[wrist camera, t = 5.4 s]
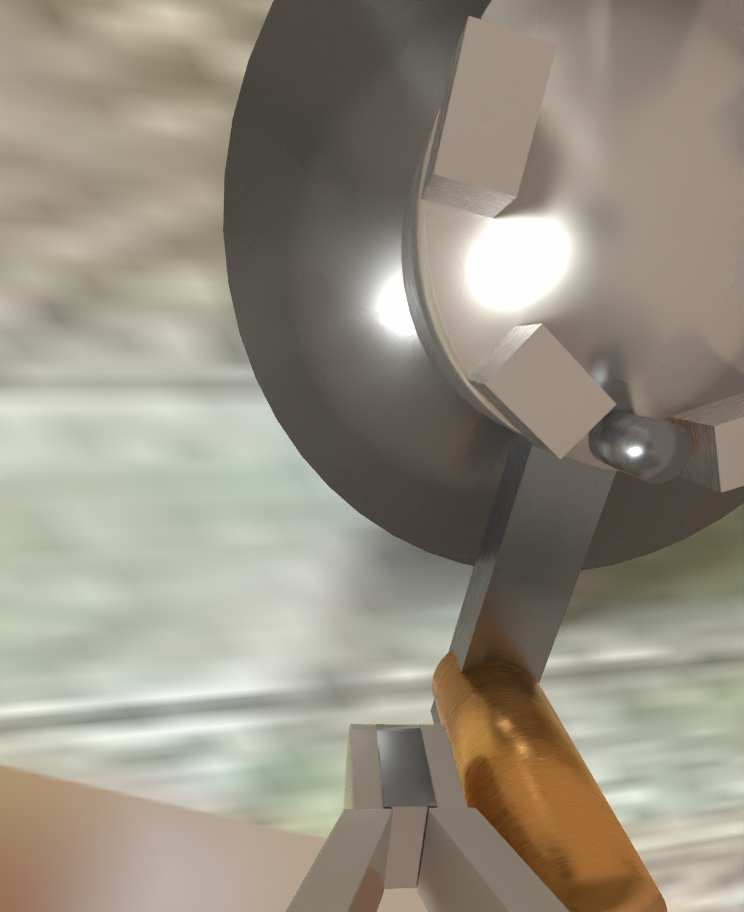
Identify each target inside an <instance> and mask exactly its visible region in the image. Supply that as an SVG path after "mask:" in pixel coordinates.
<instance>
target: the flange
mask: <svg viewBox="0 0 744 912" xmlns="http://www.w3.org/2000/svg"><path fill="white" fill-rule="evenodd" d="M491 1H492V0H274V2H273V3H272V5H271V8H270V10H269V13H268V15H267V17H266V20H265V22H264V25H263V27H262V30H261V32H260V34H259V37H258V39H257V42H256V44H255V47H254V49H253V51H252V54H251V56H250V59H249V61H248V65H247V69H246V72H245V76H244V80H243V83H242V87H241V91H240V94H239V98H238V102H237V105H236V109H235V112H234V116H233V121H232V128H231V135H230V142H229V149H228V156H227V163H226V169H225V181H224V226H223V232H224V242H225V252H226V262H227V272H228V282H229V288H230V292H231V296H232V301H233V305H234V310H235V314H236V319H237V323H238V328H239V332H240V335H241V338H242V341H243V343H244V346H245V349H246V352H247V355H248V357H249V360H250V363H251V366H252V369H253V371H254V374H255V377H256V379H257V381H258V383H259V385H260V387H261V389H262V391H263V393H264V395H265V397H266V399H267V401H268V403H269V405H270V407H271V409H272V411H273V413H274V415H275V417H276V419H277V420H278V422H279V423H280V425H281V426H282V428H283V429H284V431H285V432H286V433H287V435H288V436H289V438H290V439H291V441H292V442H293V444H294V445H295V447H296V448H297V450H298V451H299V453H300V454H301V455H302V457H303V458H304V459H305V460H306V461H307V462H308V463H309V464H310V466H311V467H312V468H313V469H314V470H315V471H316V472H317V473H318V475H319V476H320V477H321V478H322V479H323V480H324V481H325V482H326V484H327V485H328V486H329V487H330V488H331V489H332V490H334V491H335V492H336V493H337V494H338V495H339V496H341V497H342V498H343V499H344V500H345V501H346V502H347V503H349V504H350V505H351V506H352V507H353V508H354V509H356V510H357V511H358V512H359V513H360V514H362V515H363V516H365V517H366V518H368V519H369V520H371V521H372V522H374V523H375V524H377V525H378V526H380V527H381V528H383V529H385V530H386V531H388V532H389V533H391V534H392V535H394V536H396V537H398V538H400V539H402V540H404V541H406V542H408V543H410V544H412V545H415V546H417V547H419V548H421V549H423V550H425V551H427V552H430V553H433V554H436V555H439V556H442V557H445V558H448V559H451V560H454V561H457V562H460V563H463V564H468V565H473V566H475V563H476V559H477V556H478V553H479V549H480V546H481V543H482V539H483V536H484V533H485V529H486V526H487V523H488V519H489V516H490V513H491V509H492V506H493V503H494V500H495V496H496V493H497V490H498V486H499V483H500V480H501V476H502V473H503V470H504V466H505V463H506V460H507V456H508V453H509V450H510V446H511V443H512V440H513V436H514V433H515V432H514V431H512V430H510V429H508V428H506V427H504V426H502V425H500V424H498V423H496V422H494V421H492V420H491V419H489V418H487V417H486V416H484V415H483V414H481V413H479V412H478V411H476V410H475V409H473V408H472V407H471V406H470V405H469V404H468V403H466V402H465V401H464V400H463V399H462V398H460V397H459V396H458V395H457V394H456V393H455V392H454V391H453V389H452V388H451V387H450V386H449V385H448V384H447V383H446V382H445V381H444V379H443V378H442V377H441V376H440V374H439V373H438V371H437V370H436V368H435V367H434V365H433V364H432V362H431V361H430V359H429V358H428V356H427V354H426V352H425V350H424V348H423V346H422V344H421V342H420V340H419V338H418V336H417V333H416V330H415V327H414V324H413V322H412V319H411V316H410V313H409V309H408V304H407V300H406V295H405V290H404V286H403V274H402V263H401V246H402V227H403V220H404V213H405V207H406V200H407V197H408V193H409V190H410V186H411V182H412V179H413V175H414V172H415V169H416V167H417V164H418V162H419V159H420V157H421V154H422V152H423V149H424V147H425V144H426V142H427V139H428V137H429V134H430V132H431V129H432V127H433V124H434V122H435V119H436V117H437V114H438V112H439V109H440V107H441V103H442V99H443V94H444V90H445V85H446V81H447V76H448V72H449V67H450V64H451V62H452V59H453V56H454V54H455V51H456V48H457V46H458V43H459V40H460V38H461V35H462V32H463V30H464V27H465V24H466V22H467V19H468V16H472V17H475V18H478V19H481V17H482V15H483V14H484V12H485V10H486V8H487V7H488V5H489V4H490V2H491ZM742 503H744V486H741V487H738V488H735V489H732V490H728V491H725V492H722V493H721V492H718V491H715V490H713V489H710V488H708V487H705V486H702V485H700V484H697V483H694V482H692V481H689V480H687V479H684V478H681V477H679V476H677V477H675V478H674V479H672V480H670V481H667V482H664V483H659V484H653V483H648V482H645V481H643V480H641V479H638V478H636V477H634V476H632V475H629V474H627V473H625V472H623V471H618V470H617V471H616V474H615V477H614V479H613V482H612V485H611V488H610V490H609V493H608V496H607V498H606V501H605V504H604V507H603V509H602V512H601V515H600V518H599V520H598V523H597V526H596V529H595V531H594V534H593V537H592V539H591V542H590V545H589V548H588V550H587V553H586V556H585V559H584V561H583V564H582V567H581V570H585V569H590V568H596V567H602V566H607V565H613V564H616V563H619V562H623V561H626V560H630V559H633V558H636V557H640V556H643V555H646V554H649V553H652V552H654V551H657V550H659V549H661V548H664V547H666V546H668V545H671V544H673V543H676V542H678V541H680V540H683V539H685V538H687V537H689V536H690V535H692V534H694V533H696V532H698V531H700V530H701V529H703V528H705V527H707V526H709V525H710V524H712V523H714V522H716V521H718V520H719V519H721V518H722V517H724V516H725V515H727V514H728V513H730V512H731V511H732V510H734V509H735V508H737V507H738V506H740V505H741V504H742Z"/></svg>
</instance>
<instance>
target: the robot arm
mask: <svg viewBox="0 0 744 912" xmlns="http://www.w3.org/2000/svg"><path fill="white" fill-rule="evenodd" d="M392 888H417V892H418V894H419V896H420V898H421V899H422V901H423V903H424V905H425V906H426V908H427V910H428V912H570V911H569V910H568V909H567V908H566V907H565V906H564V905H563V904H562V903H561V901H560V900H559V899H558V898H557V897H556V896H555V895H554V894H553V893H552V891H551V890H550V889H549V888H548V887H547V886H546V885H545V884H544V883H543V881H542V880H541V879H540V878H539V877H538V876H537V875H536V874H535V873H534V872H533V870H532V869H531V868H530V867H529V866H528V865H527V864H526V863H525V862H524V860H523V859H522V858H521V857H520V856H519V855H518V854H517V853H516V852H515V850H514V849H513V848H512V847H511V846H510V845H509V844H508V843H507V842H506V840H505V839H504V838H503V837H502V836H501V835H500V834H499V833H498V832H497V831H496V829H495V828H494V827H493V826H492V825H491V824H490V823H489V822H488V821H487V819H486V818H485V817H484V816H483V815H482V814H481V813H480V812H479V811H478V809H477V808H470V807H468V806H467V802H466V799H465V795H464V792H463V788H462V784H461V781H460V777H459V774H458V770H457V767H456V763H455V759H454V756H453V752H452V749H451V745H450V742H449V738H448V734H447V731H446V728H445V727H444V726H443V725H385V724H376V725H370V724H350V727H349V735H348V747H347V758H346V772H345V793H344V810H343V812H342V814H341V815H340V817H339V819H338V821H337V822H336V824H335V826H334V828H333V829H332V831H331V833H330V835H329V837H328V838H327V840H326V842H325V844H324V845H323V847H322V849H321V851H320V852H319V854H318V856H317V858H316V859H315V861H314V863H313V865H312V866H311V868H310V870H309V872H308V873H307V876H306V877H305V879H304V880H303V882H302V884H301V886H300V888H299V889H298V891H297V893H296V895H295V896H294V898H293V900H292V902H291V903H290V905H289V907H288V909H287V911H286V912H377V909H378V907H379V904H380V901H381V898H382V896H383V892H384V889H392Z"/></svg>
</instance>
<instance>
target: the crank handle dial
mask: <svg viewBox="0 0 744 912" xmlns="http://www.w3.org/2000/svg"><path fill="white" fill-rule="evenodd" d="M401 263H402V274H403V286H404V290H405V295H406V300H407V304H408V309H409V313H410V316H411V319H412V322H413V324H414V327H415V330H416V333H417V336H418V338H419V340H420V342H421V344H422V346H423V348H424V350H425V352H426V354H427V356H428V358H429V359H430V361H431V362H432V364H433V365H434V367H435V368H436V370H437V371H438V373H439V374H440V376H441V377H442V378H443V379H444V381H445V382H446V383H447V384H448V385H449V386H450V387H451V388H452V389H453V391H454V392H455V393H456V394H457V395H458V396H459V397H460V398H462V399H463V400H464V401H465V402H466V403H468V404H469V405H470V406H471V407H472V408H473V409H475V410H476V411H478V412H479V413H481V414H483V415H484V416H486V417H487V418H489V419H491V420H492V421H494V422H496V423H498V424H500V425H502V426H504V427H506V428H508V429H510V430H512V431H514V432H515V433H514V436H513V440H512V443H511V446H510V450H509V453H508V456H507V460H506V463H505V466H504V470H503V473H502V476H501V480H500V483H499V486H498V490H497V493H496V496H495V500H494V503H493V506H492V509H491V513H490V516H489V519H488V523H487V526H486V529H485V533H484V536H483V539H482V543H481V546H480V549H479V553H478V556H477V559H476V563H475V566H474V569H473V573H472V576H471V579H470V583H469V586H468V589H467V592H466V596H465V599H464V602H463V606H462V609H461V612H460V616H459V619H458V622H457V626H456V629H455V632H454V636H453V639H452V642H451V646H450V649H449V652H448V654H447V655H446V656H445V657H444V658H443V659H442V660H441V662H440V663H439V664H438V666H437V668H436V670H435V673H434V675H433V680H432V691H433V695H434V702H433V705H432V709H431V713H432V717H433V722H434V725H443V726H444V727H445V728H446V731H447V734H448V738H449V742H450V745H451V749H452V752H453V756H454V759H455V763H456V767H457V770H458V774H459V777H460V781H461V784H462V788H463V792H464V795H465V799H466V802H467V806H468V807H470V808H477V809H478V811H479V812H480V813H481V814H482V815H483V816H484V817H485V818H486V819H487V821H488V822H489V823H490V824H491V825H492V826H493V827H494V828H495V829H496V831H497V832H498V833H499V834H500V835H501V836H502V837H503V838H504V839H505V840H506V842H507V843H508V844H509V845H510V846H511V847H512V848H513V849H514V850H515V852H516V853H517V854H518V855H519V856H520V857H521V858H522V859H523V860H524V862H525V863H526V864H527V865H528V866H529V867H530V868H531V869H532V870H533V872H534V873H535V874H536V875H537V876H538V877H539V878H540V879H541V880H542V881H543V883H544V884H545V885H546V886H547V887H548V888H549V889H550V890H551V891H552V893H553V894H554V895H555V896H556V897H557V898H558V899H559V900H560V901H561V903H562V904H563V905H564V906H565V907H566V908H567V909H568V910H569V911H570V912H667V907H666V904H665V901H664V899H663V897H662V895H661V893H660V891H659V890H658V888H657V886H656V885H655V883H654V881H653V879H652V878H651V876H650V874H649V873H648V871H647V869H646V867H645V866H644V864H643V862H642V861H641V859H640V857H639V855H638V854H637V852H636V850H635V848H634V847H633V845H632V843H631V842H630V840H629V838H628V836H627V835H626V833H625V831H624V830H623V828H622V826H621V824H620V823H619V821H618V819H617V817H616V816H615V814H614V812H613V811H612V809H611V807H610V805H609V804H608V802H607V800H606V799H605V797H604V795H603V793H602V792H601V790H600V788H599V786H598V785H597V783H596V781H595V780H594V778H593V776H592V774H591V773H590V771H589V769H588V768H587V766H586V764H585V762H584V761H583V759H582V757H581V755H580V754H579V752H578V750H577V749H576V747H575V745H574V743H573V742H572V740H571V738H570V737H569V735H568V733H567V731H566V730H565V728H564V726H563V724H562V723H561V721H560V719H559V718H558V716H557V714H556V712H555V711H554V709H553V707H552V706H551V704H550V702H549V700H548V699H547V697H546V695H545V693H544V692H543V690H542V688H541V687H540V685H539V682H540V679H541V676H542V673H543V671H544V668H545V665H546V663H547V660H548V657H549V654H550V652H551V649H552V646H553V643H554V641H555V638H556V635H557V632H558V630H559V627H560V624H561V622H562V619H563V616H564V613H565V611H566V608H567V605H568V602H569V600H570V597H571V594H572V591H573V589H574V586H575V583H576V581H577V578H578V575H579V572H580V570H581V567H582V564H583V561H584V559H585V556H586V553H587V550H588V548H589V545H590V542H591V539H592V537H593V534H594V531H595V529H596V526H597V523H598V520H599V518H600V515H601V512H602V509H603V507H604V504H605V501H606V498H607V496H608V493H609V490H610V488H611V485H612V482H613V479H614V477H615V474H616V471H617V470H618V471H623V472H625V473H627V474H629V475H632V476H634V477H636V478H638V479H641V480H643V481H645V482H648V483H653V484H659V483H664V482H667V481H670V480H672V479H674V478H675V477H677V476H679V477H681V478H684V479H687V480H689V481H692V482H694V483H697V484H700V485H702V486H705V487H708V488H710V489H713V490H715V491H718V492H721V493H722V492H725V491H728V490H732V489H735V488H738V487H741V486H744V0H492V1H491V2H490V4H489V5H488V7H487V8H486V10H485V12H484V14H483V15H482V17H481V19H478V18H475V17H472V16H468V19H467V22H466V24H465V27H464V30H463V32H462V35H461V38H460V40H459V43H458V46H457V48H456V51H455V54H454V56H453V59H452V62H451V64H450V67H449V72H448V76H447V81H446V85H445V90H444V94H443V99H442V103H441V107H440V109H439V112H438V114H437V117H436V119H435V122H434V124H433V127H432V129H431V132H430V134H429V137H428V139H427V142H426V144H425V147H424V149H423V152H422V154H421V157H420V159H419V162H418V164H417V167H416V169H415V172H414V175H413V179H412V182H411V186H410V190H409V193H408V197H407V200H406V207H405V213H404V220H403V227H402V246H401Z"/></svg>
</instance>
